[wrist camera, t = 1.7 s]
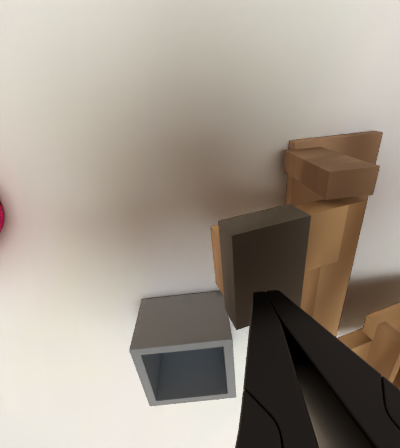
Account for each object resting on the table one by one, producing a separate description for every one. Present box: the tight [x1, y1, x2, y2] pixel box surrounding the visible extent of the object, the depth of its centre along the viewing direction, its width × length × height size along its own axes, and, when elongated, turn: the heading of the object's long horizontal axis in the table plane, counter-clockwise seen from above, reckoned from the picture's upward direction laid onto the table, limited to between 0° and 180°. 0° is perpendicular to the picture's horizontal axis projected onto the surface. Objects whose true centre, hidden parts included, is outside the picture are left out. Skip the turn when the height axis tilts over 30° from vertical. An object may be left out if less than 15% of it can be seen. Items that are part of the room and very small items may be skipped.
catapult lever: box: [211, 196, 400, 389], centre depth 14 cm, size 17×16×3 cm
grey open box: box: [130, 291, 236, 406], centre depth 19 cm, size 7×7×4 cm
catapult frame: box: [285, 131, 383, 331], centre depth 16 cm, size 6×18×6 cm, turn 6°
